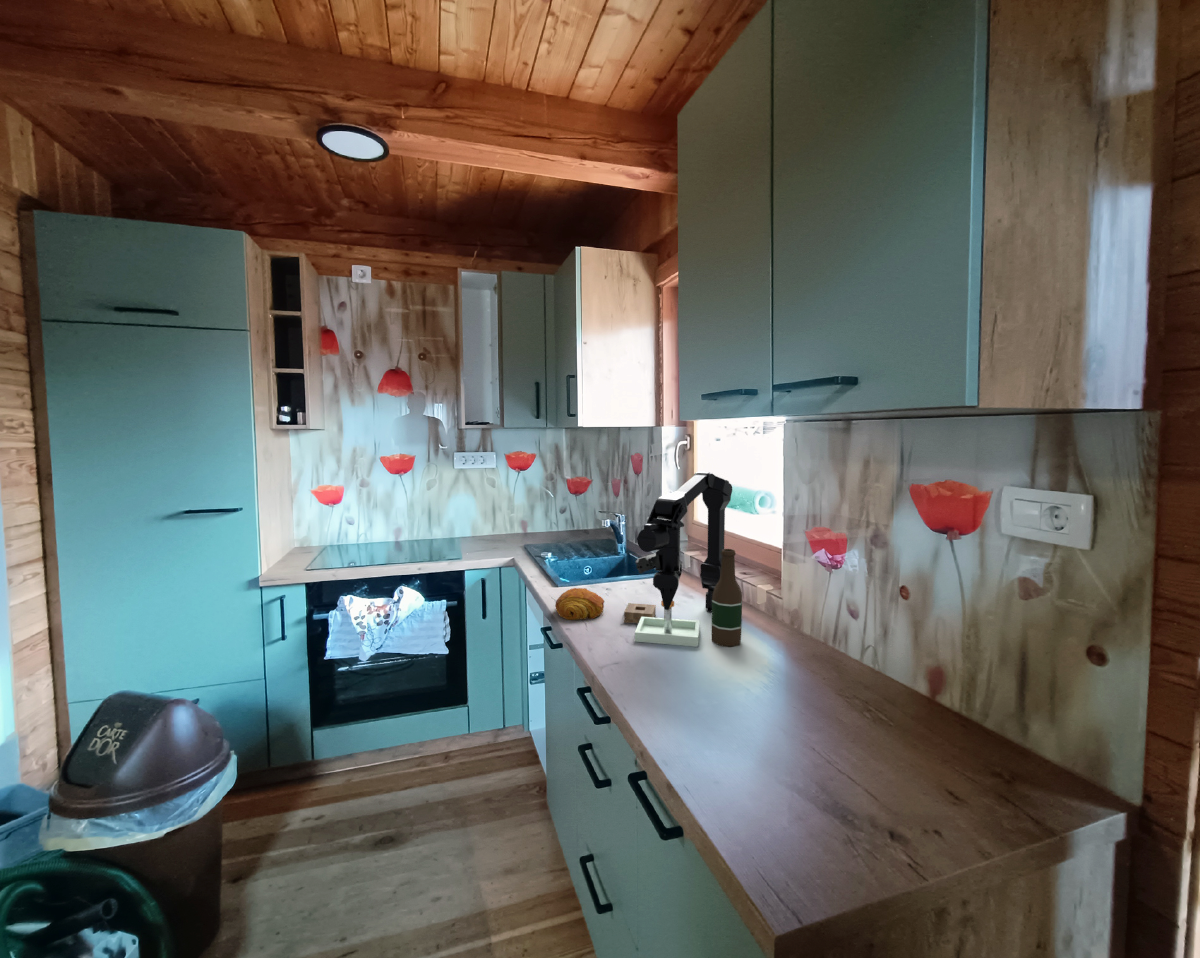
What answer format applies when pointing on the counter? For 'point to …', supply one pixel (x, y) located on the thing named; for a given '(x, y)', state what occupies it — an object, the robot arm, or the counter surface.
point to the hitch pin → (668, 618)
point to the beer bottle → (727, 604)
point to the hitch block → (638, 612)
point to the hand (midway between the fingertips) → (668, 603)
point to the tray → (654, 633)
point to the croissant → (579, 604)
